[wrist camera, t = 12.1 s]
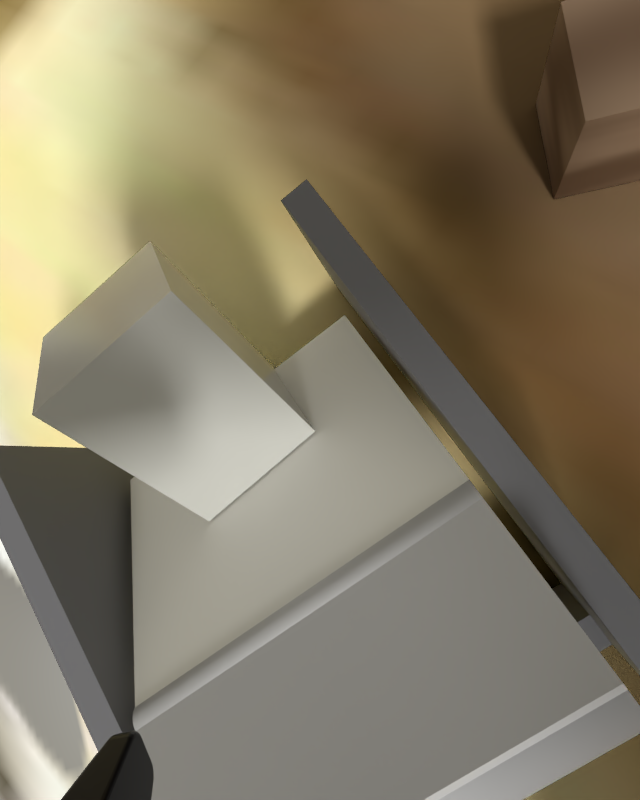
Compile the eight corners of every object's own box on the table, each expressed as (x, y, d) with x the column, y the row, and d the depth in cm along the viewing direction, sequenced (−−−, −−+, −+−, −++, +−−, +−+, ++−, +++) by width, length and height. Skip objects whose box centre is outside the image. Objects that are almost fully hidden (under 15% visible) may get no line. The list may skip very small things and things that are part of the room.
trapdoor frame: (601, 592, 19) (708, 686, 11) (292, 782, 21) (200, 973, 13) (354, 274, 23) (306, 178, 15) (115, 460, 25) (-35, 461, 17)
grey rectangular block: (315, 431, 17) (171, 290, 13) (209, 521, 18) (32, 414, 13) (272, 365, 21) (150, 240, 17) (185, 440, 21) (43, 337, 17)
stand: (673, 172, 20) (746, 81, 15) (553, 199, 21) (585, 121, 16) (650, 73, 20) (713, -45, 16) (535, 104, 21) (561, 1, 17)
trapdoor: (659, 734, 11) (644, 711, 9) (240, 969, 12) (137, 1000, 10) (380, 362, 22) (343, 313, 20) (182, 509, 24) (128, 478, 22)
